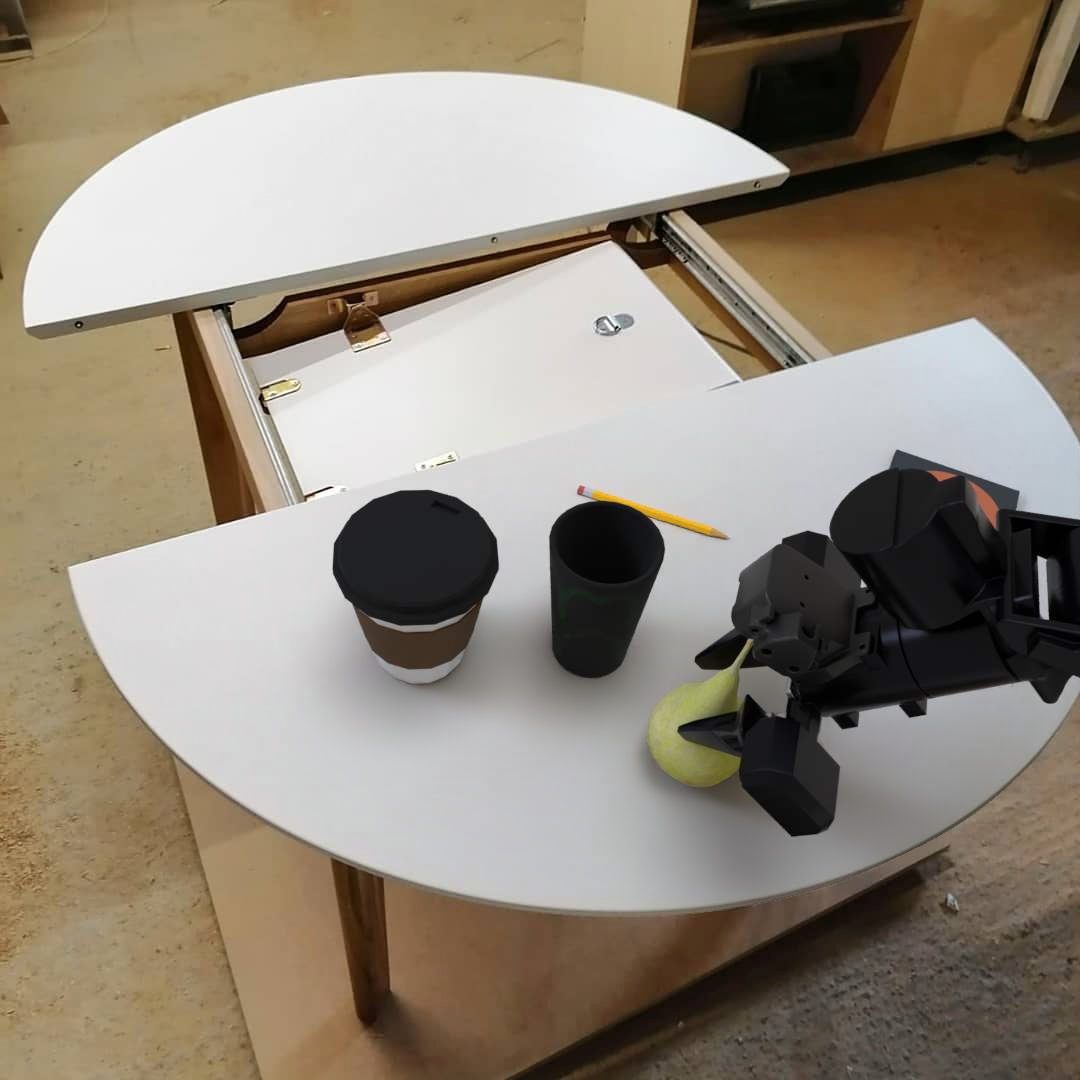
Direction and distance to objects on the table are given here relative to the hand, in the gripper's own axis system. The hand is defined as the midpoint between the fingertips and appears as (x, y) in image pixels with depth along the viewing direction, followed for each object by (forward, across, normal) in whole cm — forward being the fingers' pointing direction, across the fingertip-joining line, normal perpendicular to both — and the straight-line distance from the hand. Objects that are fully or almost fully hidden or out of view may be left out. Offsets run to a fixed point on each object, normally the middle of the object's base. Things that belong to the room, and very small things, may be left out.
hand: (689, 697), depth 65 cm
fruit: (+4, 0, +6) cm, 7 cm away
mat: (-8, -30, +17) cm, 36 cm away
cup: (+10, -6, -1) cm, 12 cm away
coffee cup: (+19, -2, -9) cm, 21 cm away
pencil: (+9, -21, +1) cm, 23 cm away
